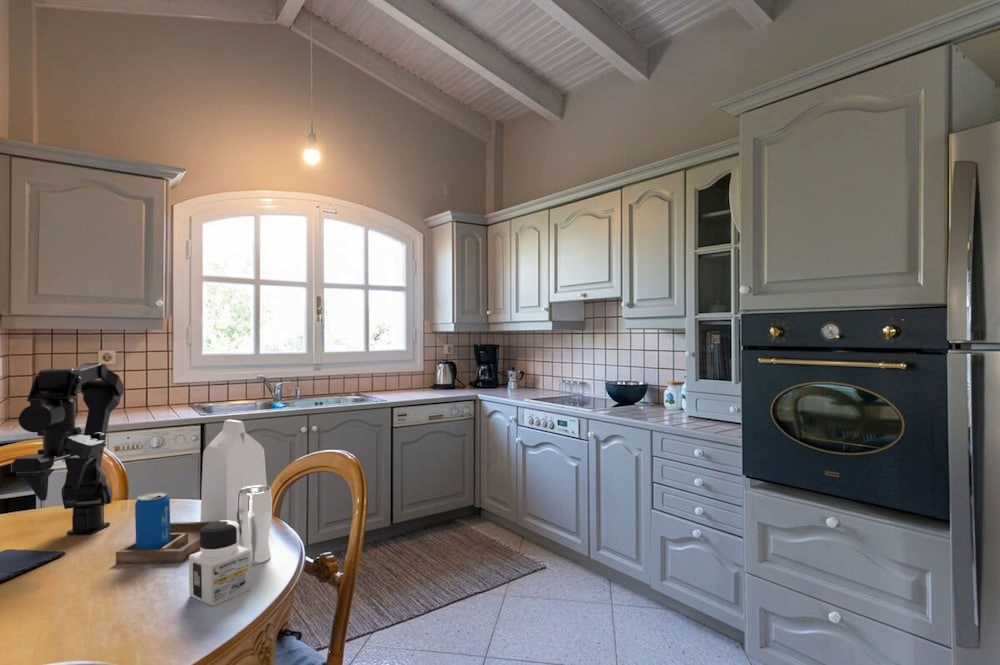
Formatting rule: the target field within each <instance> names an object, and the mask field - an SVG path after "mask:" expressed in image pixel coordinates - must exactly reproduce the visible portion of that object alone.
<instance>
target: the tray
mask: <svg viewBox="0 0 1000 665" xmlns="http://www.w3.org/2000/svg"><path fill="white" fill-rule="evenodd" d="M209 523H212V522H200V521H185V522H184V521H183V522H182V521H181V522H180V521H176V522H175V521H173V522H171V521H170V539H171V542H170V543H168V544H167V545H165V546H164V547H162V548H161V550H136V540H134V541H132V542H130V543H129V544H127V545H126V546H124V547H122V548H120V549H119V550H117V551H115V565H128V564H175V563H176V564H179V563H180V564H181V563H184V562H185V561H186V560H189V556H190V555H191V554H194V553H197V552H200V530H201V529H202V528H203V527H204V526H206V525H207V524H209Z"/></svg>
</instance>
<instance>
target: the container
mask: <svg viewBox="0 0 1000 665" xmlns="http://www.w3.org/2000/svg"><path fill="white" fill-rule="evenodd" d="M188 584H189V585H188V587H189V588H188V589H189V590H188V593H189V596H190V597H192V598H194V599H196V600H198V601H200V602H202V603H205V604H207V605H209V606H212V607H214V606H216V605H219V604H221V603H223V602H225V601H228V600H230V599H232V598H234V597H237V596H239V595H242V594H244V593H245V592H248V591H250V590H251V589H252V565H251V551H250V549H247V548H244V547H242V545H240V532H239V524H238V523H237V522H235V521H231V520H221V521H216V522H212V523H209V524H207V525H206V526H204V527H203V528H202V529H201V530H200V550H199V551H197V552H196V553H194V554H191V555H190V556H189V558H188Z"/></svg>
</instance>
